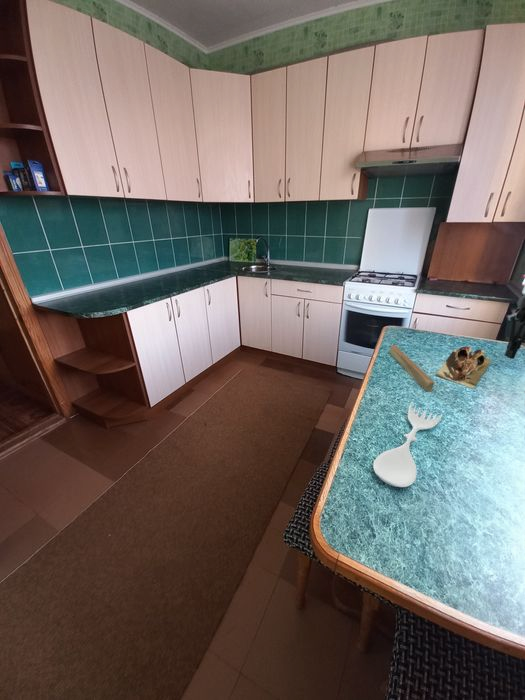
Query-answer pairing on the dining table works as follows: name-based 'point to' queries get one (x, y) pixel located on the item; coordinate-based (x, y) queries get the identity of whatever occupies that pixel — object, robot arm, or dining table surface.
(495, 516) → the dining table surface
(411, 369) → the light brown wooden bar
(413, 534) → the dining table surface
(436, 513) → the dining table surface
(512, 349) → the robot arm
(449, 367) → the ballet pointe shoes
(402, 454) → the spoon
